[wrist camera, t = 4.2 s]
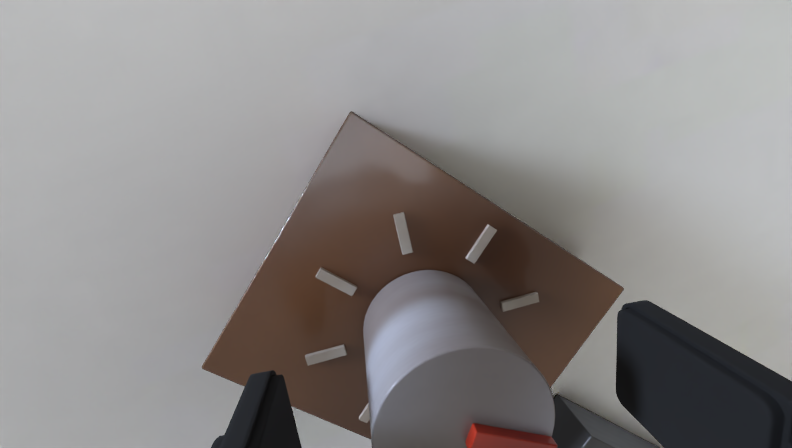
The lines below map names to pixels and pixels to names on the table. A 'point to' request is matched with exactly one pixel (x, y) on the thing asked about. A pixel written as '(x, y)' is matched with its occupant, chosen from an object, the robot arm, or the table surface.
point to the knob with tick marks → (395, 275)
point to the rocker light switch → (589, 429)
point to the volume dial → (449, 371)
